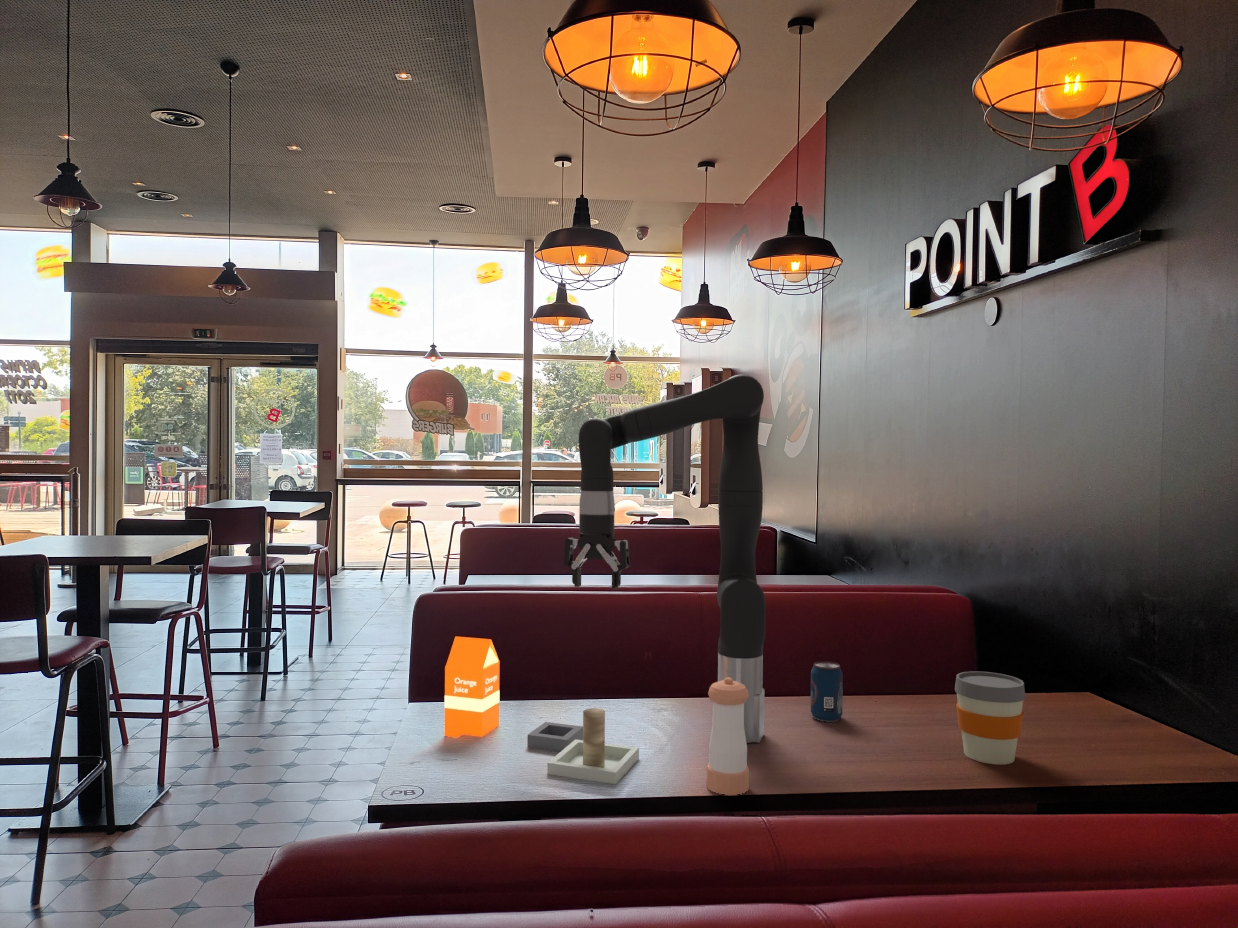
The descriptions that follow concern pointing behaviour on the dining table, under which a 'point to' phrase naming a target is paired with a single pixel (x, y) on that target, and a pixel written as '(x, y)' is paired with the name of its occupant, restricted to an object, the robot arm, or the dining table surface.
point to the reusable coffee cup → (989, 715)
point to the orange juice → (471, 688)
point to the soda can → (826, 691)
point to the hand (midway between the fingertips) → (596, 587)
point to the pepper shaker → (728, 739)
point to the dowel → (594, 737)
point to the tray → (572, 766)
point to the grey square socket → (554, 736)
